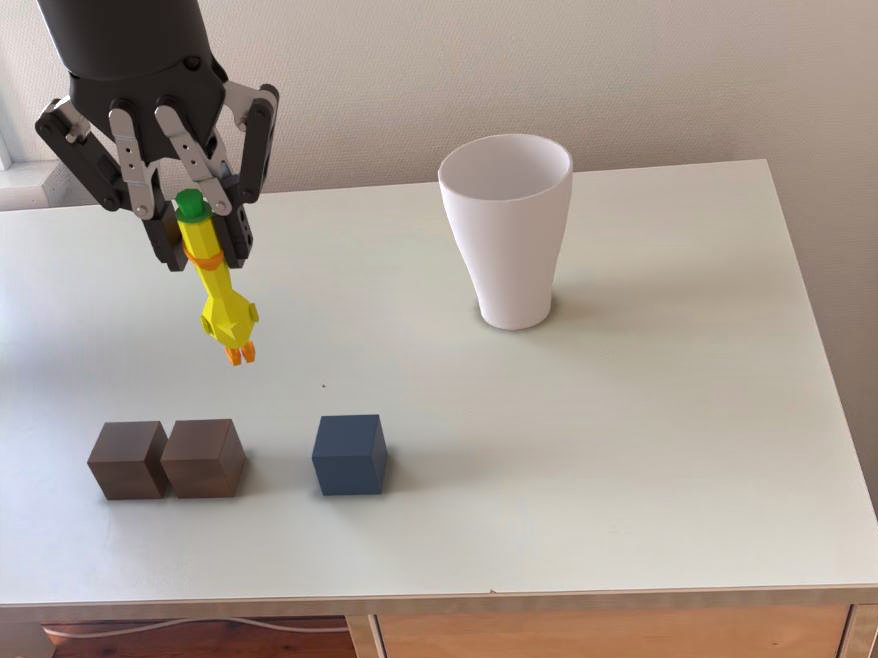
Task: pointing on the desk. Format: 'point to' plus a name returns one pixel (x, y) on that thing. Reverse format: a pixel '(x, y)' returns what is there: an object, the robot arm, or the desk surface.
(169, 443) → the block
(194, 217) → the toy figure
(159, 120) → the robot arm
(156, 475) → the block
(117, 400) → the desk surface
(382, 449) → the block
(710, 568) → the desk surface
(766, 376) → the desk surface
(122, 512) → the desk surface
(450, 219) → the cup
